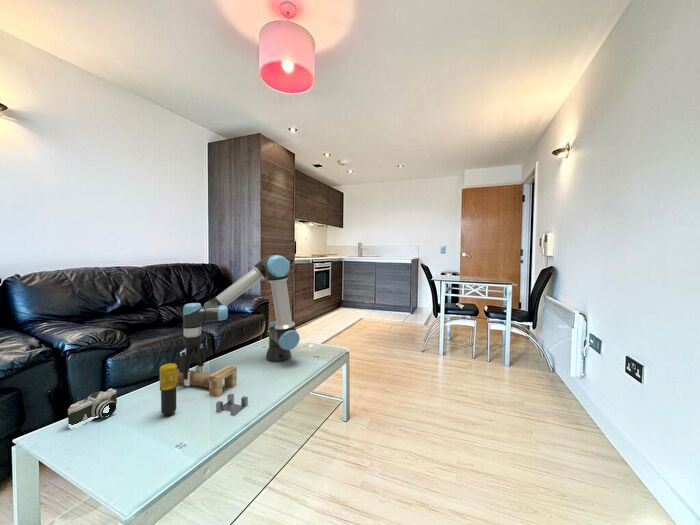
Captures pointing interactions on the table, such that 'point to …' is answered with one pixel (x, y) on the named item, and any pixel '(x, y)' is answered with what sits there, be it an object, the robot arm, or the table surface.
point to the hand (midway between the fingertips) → (192, 382)
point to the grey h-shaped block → (231, 405)
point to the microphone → (168, 388)
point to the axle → (195, 378)
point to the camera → (92, 406)
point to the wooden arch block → (216, 380)
